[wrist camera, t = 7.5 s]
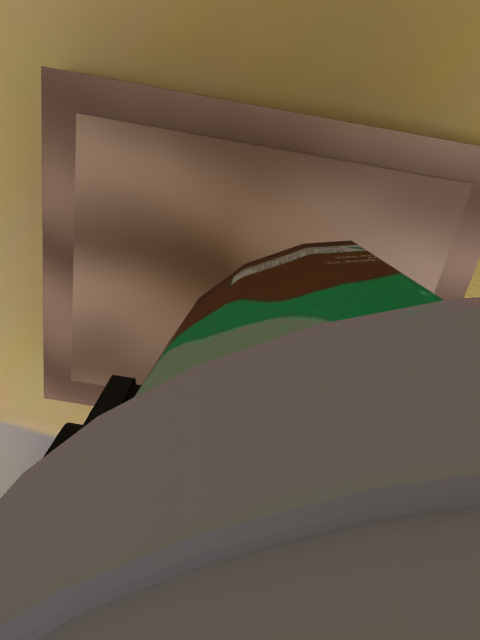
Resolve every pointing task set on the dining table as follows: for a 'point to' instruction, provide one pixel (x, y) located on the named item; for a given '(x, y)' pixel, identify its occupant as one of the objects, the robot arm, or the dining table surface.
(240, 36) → the dining table surface
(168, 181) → the board
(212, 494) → the food container
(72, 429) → the robot arm
